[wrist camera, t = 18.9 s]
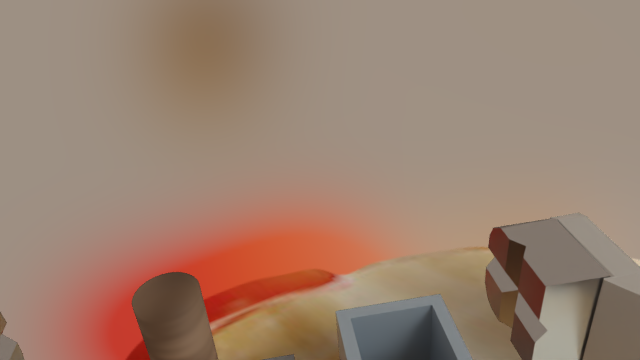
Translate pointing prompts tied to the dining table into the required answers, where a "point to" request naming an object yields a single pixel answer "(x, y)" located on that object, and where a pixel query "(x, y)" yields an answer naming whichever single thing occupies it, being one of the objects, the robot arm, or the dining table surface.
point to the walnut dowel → (174, 318)
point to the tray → (282, 358)
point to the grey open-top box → (400, 331)
